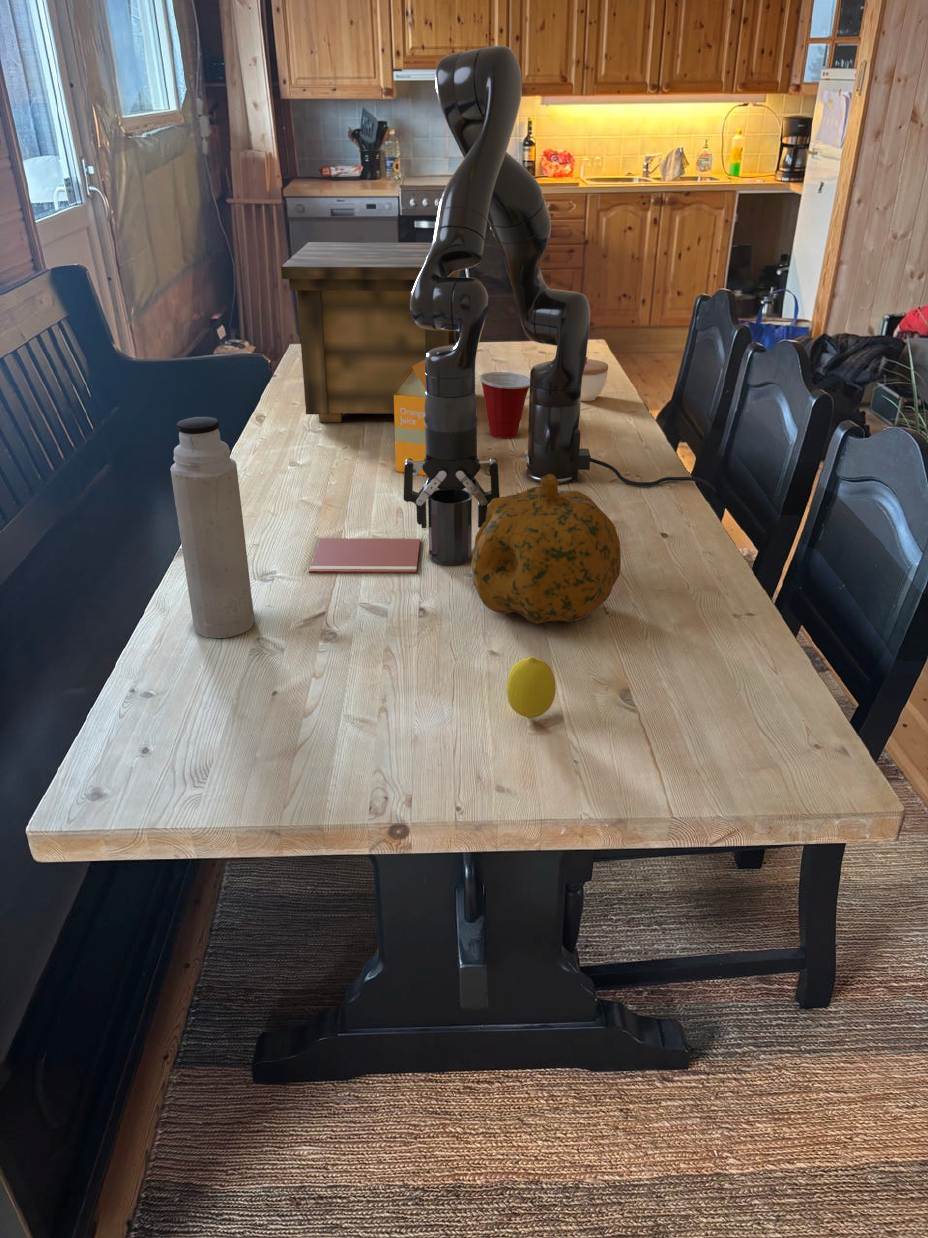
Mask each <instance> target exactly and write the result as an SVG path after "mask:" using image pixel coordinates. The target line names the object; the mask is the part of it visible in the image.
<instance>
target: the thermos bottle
mask: <svg viewBox="0 0 928 1238" xmlns="http://www.w3.org/2000/svg"><path fill="white" fill-rule="evenodd" d="M176 427H177V430H178V432H179V433H178V439H179V444H178V445H177V446H175V447H174V448H173V457H172V458H173V461H174V463H173V464H172V465H171V467H170V476H171V484H172V489H173V498H174V504H175V509H176V510H175V511H176V515H177V516H176V517H177V524H178V531H179V538H180V543H181V551H182V557H183V563H184V570H185V571H184V572H185V578H186V583H187V592H188V598H189V605H190V612H191V617H192V618H191V619H192V623H193V624H192V626H193V629H194V631H195V632H196V633H197V634H198V635H199V636H202V637H206V638H212V639H226V638H231V637H236V636H238V635H241V634H244V633H246V632H247V631H249V630H250V629H251V628H252V627H253V626H254V624H255V614H254V604H253V598H252V597H253V596H252V590H251V589H252V588H251V579H250V571H249V562H248V554H247V553H248V552H247V544H246V535H245V527H244V525H245V524H244V518H243V510H242V509H243V507H242V501H241V493H240V492H241V491H240V482H239V475H238V465H237V461H236V460H234V459H233V458H231V457H230V456H231V449H230V446H229V444H227V443H226V442H225V441H222V439H221V433H220V431H219V428H220V423H219V420H218V419H217V418H216V417H210V416H194V417H193V416H192V417H188V418H183V419H181V420H179V421H178V422H177V423H176Z"/></svg>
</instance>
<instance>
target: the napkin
mask: <svg viewBox="0 0 928 1238" xmlns="http://www.w3.org/2000/svg"><path fill="white" fill-rule="evenodd" d="M420 545H421V539H420V538H319V540H318V543H317V546H316V549H315V551H314V555H313V557H312V560H311V563H310V566H309V569H308V573H309V574H417V569H418V563H419V562H418V561H419V553H420Z"/></svg>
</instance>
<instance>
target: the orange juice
mask: <svg viewBox="0 0 928 1238" xmlns="http://www.w3.org/2000/svg"><path fill="white" fill-rule="evenodd" d="M425 398H426V375H425V360H423V361H421V362H419V363H417V364H416V365H414V366H412V369H411V370H410V372H409V373H408V375H407V376H406V378H405V379H404V381H403V383H402V384H401V386H400V387H399V389H398V390H397V392H396V393H395V394H394V413H393V415H394V427H393V428H394V443H395V445H394V448H395V472H399V473H404V467H405V461H406V459H408V458H411V459H412V460H413V461H424V459H425V457H426V451H425V422H424V416H425ZM418 475H421V476H427V475H426V474H425V472H424V471H423V469H421V470H419V472H418ZM427 477H428V476H427Z"/></svg>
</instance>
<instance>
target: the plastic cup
mask: <svg viewBox="0 0 928 1238" xmlns="http://www.w3.org/2000/svg"><path fill="white" fill-rule="evenodd" d="M479 381H480V382H481V383H480V384H481V385H482V393H483V399H484V405H485V412H486V419H487V423H488V432H489V434H490V436H491V437H494V438H497V439H511V438H515V437H517V436H518V434H519V431H520V424H521V420H522V416H523V412H524V408H525V403H526V397H527V396H528V392H529V391H530V377H528V376H526V375H523V374H519V373H515V372H507V371H490V372H484V373H482V374H481V375H479Z"/></svg>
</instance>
